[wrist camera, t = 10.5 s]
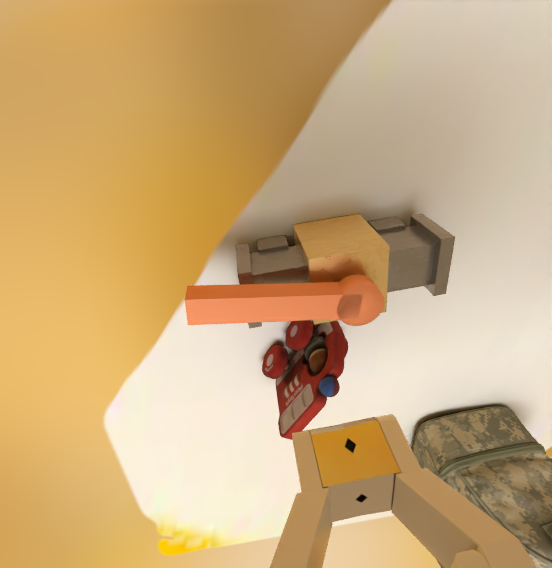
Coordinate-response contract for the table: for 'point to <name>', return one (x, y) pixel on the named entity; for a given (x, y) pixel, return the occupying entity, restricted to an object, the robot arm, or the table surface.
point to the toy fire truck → (306, 372)
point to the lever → (285, 302)
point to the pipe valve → (353, 255)
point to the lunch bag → (494, 471)
